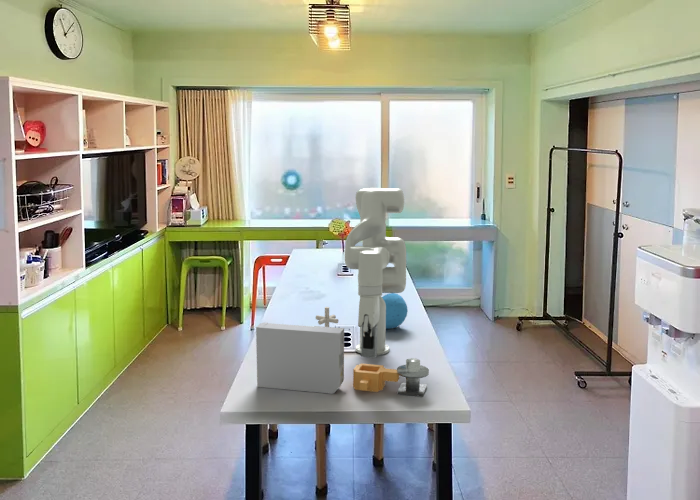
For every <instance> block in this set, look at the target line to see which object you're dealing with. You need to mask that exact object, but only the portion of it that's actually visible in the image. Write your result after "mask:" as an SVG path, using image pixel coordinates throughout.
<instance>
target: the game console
mask: <svg viewBox="0 0 700 500" xmlns="http://www.w3.org/2000/svg"><path fill="white" fill-rule="evenodd" d="M255 330H256V331H255V337H256V339H255V340H256V342H255V343H256V344H255V345H256V346H255V347H256V383H257V385H256V387H257V388H267V389H268V388H269V389H276V390H277V389H279V390H289V391H298V392H299V391H300V392H310V393H323V394H332V395H333V394H335V393H336V392H337V390H339V388H341V386H342V384H343V382H344V381H345V328H344V327H332V326H331V327H330V326H329V327H325V326H321V325H320V326H319V325H314V326H312V325H311V326H310V325H298V324H297V325H296V324H284V323H282V324H281V323H269V322H261V323H259V324H258V325H257V326H255Z"/></svg>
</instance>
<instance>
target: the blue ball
mask: <svg viewBox="0 0 700 500" xmlns="http://www.w3.org/2000/svg"><path fill="white" fill-rule="evenodd" d="M381 297H382V298H383V300H384V301H385V304H386V329H387V330H388V329H394V328H398V327H399V326H400V325H402V324H403V323H404V321H406V318H407V316H408V313H409V312H408V304H407V302H406V301H405V300H404V298H403V296H402V295H400V294H399V293H386V294H385V295H382V296H381Z"/></svg>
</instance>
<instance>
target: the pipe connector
mask: <svg viewBox="0 0 700 500" xmlns="http://www.w3.org/2000/svg"><path fill="white" fill-rule="evenodd" d="M315 320H316V321H317V324H318V326H319V325H320V326H321V325H323V324H324V327H330V323H332V324H338V323H339V319H338V318H336V315H335V314H331V315H330V307H329V306H325V307H324V315H318V314H317V315H315Z"/></svg>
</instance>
